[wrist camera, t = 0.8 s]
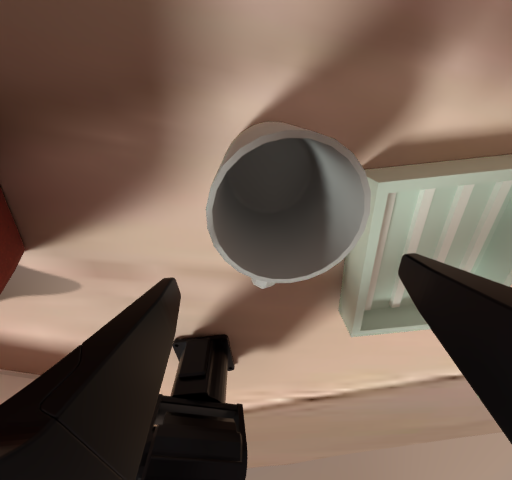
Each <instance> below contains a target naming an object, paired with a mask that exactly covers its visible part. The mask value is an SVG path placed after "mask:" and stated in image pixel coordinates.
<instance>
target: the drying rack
mask: <svg viewBox="0 0 512 480" xmlns="http://www.w3.org/2000/svg"><path fill="white" fill-rule="evenodd" d="M365 172H366V176H367V180H368V183H369V187H370V190H371V201H370V214H369V217H368V220H367V224H366V227H365V230H364V232H363V234H362V235H361V237H360V239H359V240H358V242H357V244H356V245H355V247H354V248H353V249H352V250H351V251H350V252H349V253H348V255H347V256H346V257H345V261H344V270H343V278H342V286H341V294H340V302H339V310H338V311H339V313H340V315H341V317H342V319H343V321H344V323H345V325H346V327H347V330H348V332H349V334H350V336H351V337H358V336H368V335H378V334H388V333H398V332H408V331H418V330H428V329H431V328H430V327H429V326H428V324H427V323H426V321H425V320H424V319H423V317H422V316H421V314H420V313H419V311H418V310H417V308H416V306H415V305H414V303H413V301H412V299H411V297H410V296H409V294H408V292H407V290H406V288H405V287H404V285H403V283H402V281H401V280H400V278H399V275H398V269H399V266H400V262H401V258H402V256H403V255H404V254H409V253H417V254H419V255H422V256H425V257H428V258H431V259H433V260H436V261H439V262H442V263H445V264H447V265H450V266H453V267H456V268H459V269H461V270H464V271H467V272H470V273H473V274H475V275H478V276H481V277H484V278H486V279H489V280H492V281H495V282H498V283H500V284H503V285H506V286H509V287H510V286H511V284H512V154H509V155H500V156H490V157H480V158H471V159H461V160H452V161H442V162H433V163H423V164H414V165H404V166H395V167H385V168H376V169H366V170H365Z"/></svg>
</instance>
